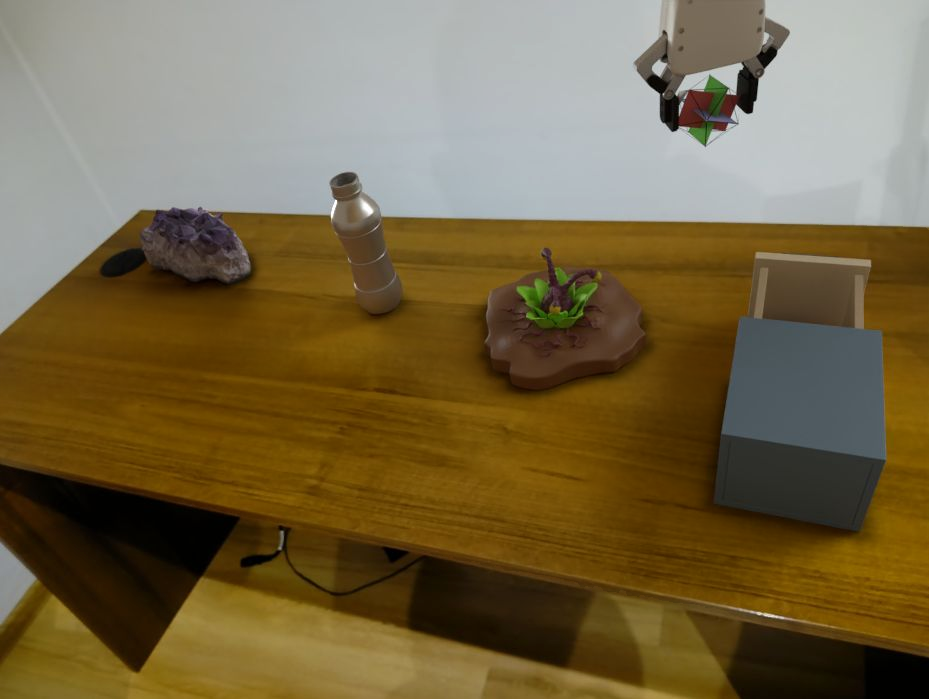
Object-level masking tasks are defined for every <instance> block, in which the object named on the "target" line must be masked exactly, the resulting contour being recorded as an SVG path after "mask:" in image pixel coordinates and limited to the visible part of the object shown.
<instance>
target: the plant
mask: <svg viewBox="0 0 929 699" xmlns="http://www.w3.org/2000/svg"><path fill="white" fill-rule="evenodd" d="M552 254H553V252H552V249H551V248H550V247H543V248H542V249H541V250H540V252H539V256H540V258H541V259H542V260H546V261H545V262H546V265H547V269H546V270H540V271H534V272H530V273H527V274H525V275H524V276H523V277H521V278H520V279H518V280H516V281H513V282H510V283H507V284H504V285H502V286H499V287H496V288H493V289H491V290H490V291H489V296H488V297H487V302H486V303H487V304H486V305H487V310H486V313H485V319H486V326H487V329H488V335H487V338H486V339H485V341H484V342H483V349H484V354H485V355H486V356H488V357H490V362H491V365H492V368H493V370H494V371H495V372H498V373H503V374H509V380H510V383H511V385H512V386H515V387H518V388H521V389H525V390H532V391H542V390H547V389H550V388H554V387H557V386H559V385H561V384H564V383H566V382H568V381H571V380H574V379H579V378H582V377H587V376H592V375H596V374H603V373H604V374H605V373H606V374H607V373H614V372H617V371H618V370H619V369H620V368H621V367H624V366H625V365H628V364H629V363H630V362H633V360H634V359H635V357H636V356H637V355H638V353H639V352H641V351H642V350H643V349H645V348H646V347H647V334H646V332H645V331H644V329H642V327H640V326H641V325H642V323H643V310H642V307H641V305H640V304H639V302H638V301H636V300H635V299H634V298H633V296H632V295H631V294H630V293H629V292H628V290H627V289H626V287H625V286H624V285H623V284H622V283H621V282H620V280H619V279H618V278H617V277H615V276H614V275H613V274H612V273H611V272H610V271H608V270H607V269H598V268H597V269H596V268H588V267H587V268H586V267H576V266H570V267H568V266H567V267H556V268H555V264H554V262H553V260H552V256H553V255H552Z"/></svg>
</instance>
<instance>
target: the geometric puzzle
mask: <svg viewBox="0 0 929 699" xmlns="http://www.w3.org/2000/svg"><path fill="white" fill-rule="evenodd" d="M705 79H707V81H706V84H705V87H704V88H696V89H695V88H694V87H696V86H697V85H698V84H699V83H701V82H702V81H704V80H705ZM693 88H694V89H693ZM728 91H729V93H728ZM732 92H733V93H735V94H731V93H732ZM736 94H737V93H736V91H734V90H732V88H730V86H727V85H726V84H724V83H722V81H720V80H718V79H717V78H715V77H714V76H713V75H711V73H709V74H708V76H706V77H705V78H704V79H702V80H701V81H699V82H698V83H697V84H695V85H694V86H692V87H690V88H688V89H685V90H679V91H678V93H676V96H677V97H678V98H679V108H680V111H679V129H678V130H681V131H682V132H683V133H685V134H686V135H688V136H689V137H691V138H693V139H694V141H697V143H700V144H701V145H702V146H704V148H706V147H707V146H709V145H710V144H711V143H713V142H714V141H716V140H717V139H719V138H720V137H721V136H723V135H724V134H726V133H727V132H729V131H730V130H732V129H733V128H735V127H736V126H738V125H739V120H740V118H738V116H737V113H736V110H735V109H736V106H737V105H736V104H737V101H738V99H739V102H740V97H739V96H740V95H736ZM682 103H683V104H682ZM681 104H682V105H681ZM733 113H734V114H735V118H736V121H735V120H734V119H733V118H732V117H733V116H732V115H733ZM729 124H731V125H733V126H730V127H729V128H728V125H729ZM684 128H686V129H684ZM713 131H716V132H721V133H719V135H717V136H716V137H715V138H714V139H712V140H711V141H710V142H709V138H710V136H711V133H712V132H713ZM688 133H689V134H690V135H689V134H688ZM708 142H709V143H708Z"/></svg>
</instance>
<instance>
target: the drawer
mask: <svg viewBox="0 0 929 699" xmlns="http://www.w3.org/2000/svg"><path fill="white" fill-rule="evenodd" d="M871 269H872V259H865V258H863V259H862V258H849V257H839V256H835V255H823V254H822V255H820V254H806V253H792V252H781V253H778V252H777V253H776V252H763V251H756V252H755V256H754V264H753V271H752V272H753V273H752V281H751V287H750V295H749V302H748V303H749V304H748V311H747V317H750V318H760V319H770V320H780V321H790V322H799V323H809V324H819V325H829V326H839V327H848V328H858V329H865V323H864V322H865V321H864V320H865V319H864V318H865V315H864V312H865V311H864V308H865V307H864V305H865V304H864V302H865V301H864V296H865V292H866V287H867V283H868V279H869V277H870V272H871Z"/></svg>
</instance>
